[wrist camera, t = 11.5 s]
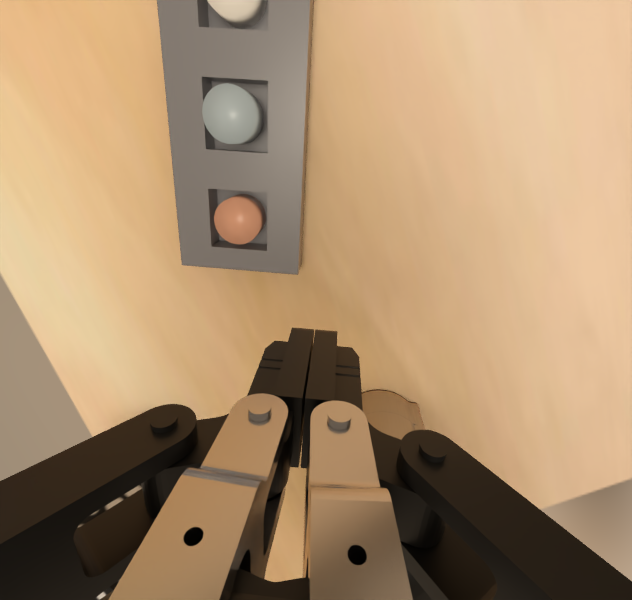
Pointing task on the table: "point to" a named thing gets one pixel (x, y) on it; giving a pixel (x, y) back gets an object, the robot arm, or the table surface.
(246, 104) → the slate button
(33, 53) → the table surface
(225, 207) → the terracotta button
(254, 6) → the offwhite button
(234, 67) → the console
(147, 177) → the table surface
